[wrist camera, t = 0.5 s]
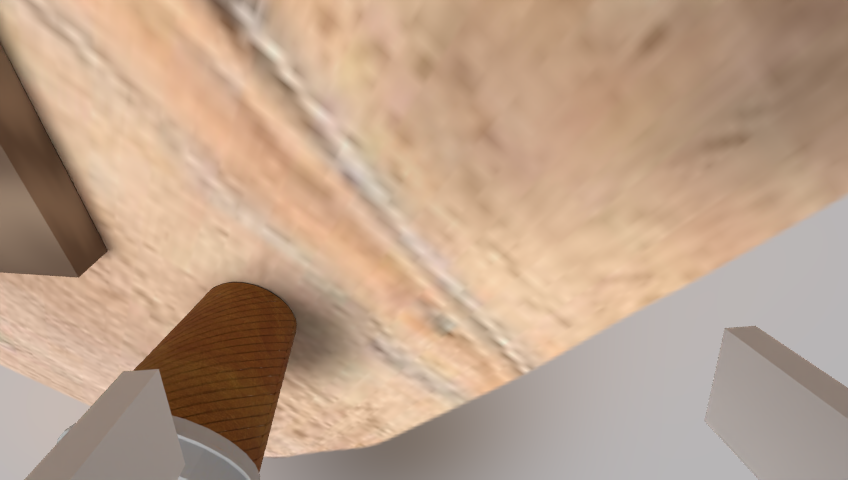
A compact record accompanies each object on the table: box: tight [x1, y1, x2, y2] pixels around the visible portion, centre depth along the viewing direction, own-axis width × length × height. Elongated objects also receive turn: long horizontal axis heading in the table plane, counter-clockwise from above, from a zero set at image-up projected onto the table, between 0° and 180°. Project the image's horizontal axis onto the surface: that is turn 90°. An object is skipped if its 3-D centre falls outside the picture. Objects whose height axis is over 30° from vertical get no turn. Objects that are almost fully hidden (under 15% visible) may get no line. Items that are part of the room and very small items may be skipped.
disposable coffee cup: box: [57, 282, 296, 480], centre depth 25 cm, size 10×10×12 cm
